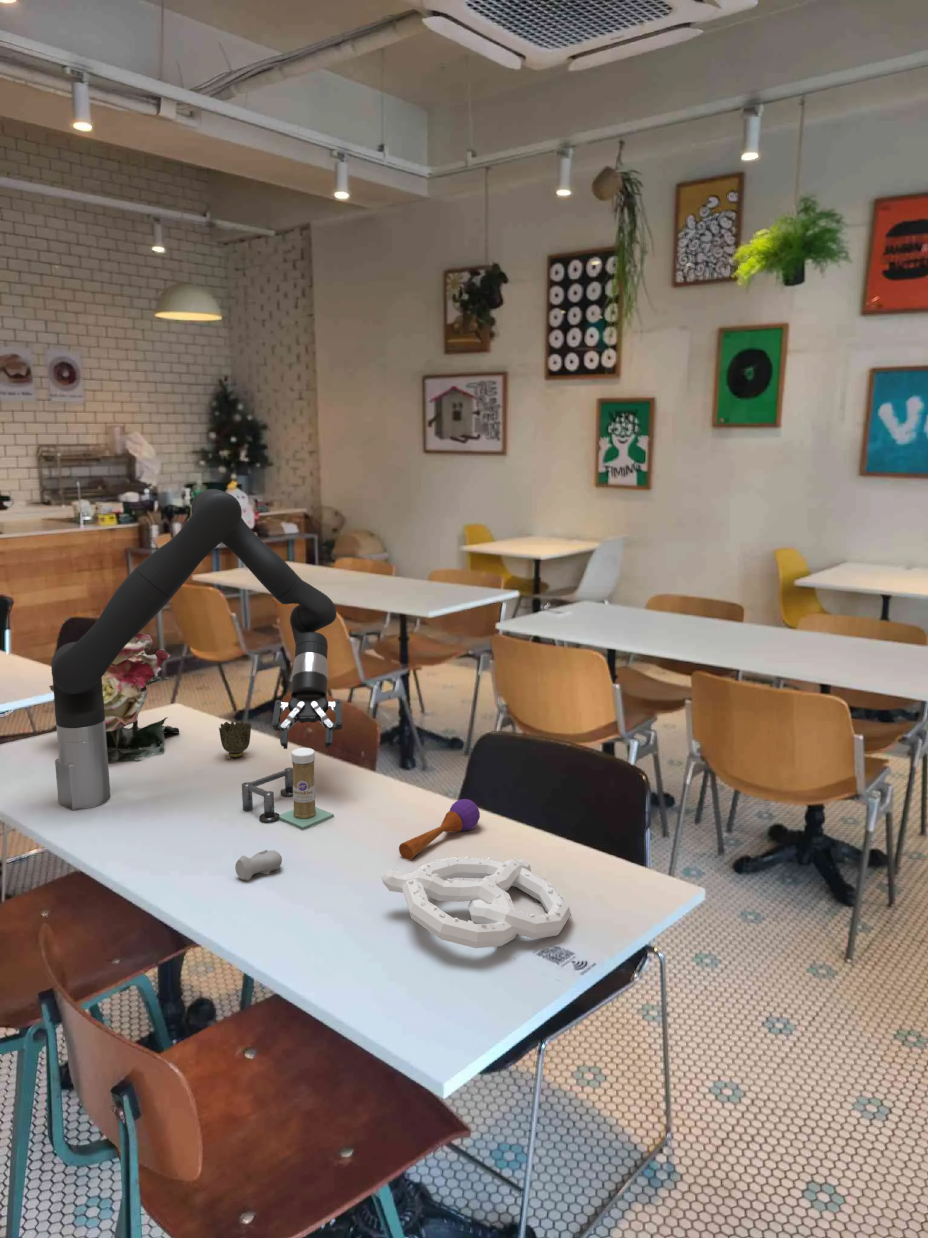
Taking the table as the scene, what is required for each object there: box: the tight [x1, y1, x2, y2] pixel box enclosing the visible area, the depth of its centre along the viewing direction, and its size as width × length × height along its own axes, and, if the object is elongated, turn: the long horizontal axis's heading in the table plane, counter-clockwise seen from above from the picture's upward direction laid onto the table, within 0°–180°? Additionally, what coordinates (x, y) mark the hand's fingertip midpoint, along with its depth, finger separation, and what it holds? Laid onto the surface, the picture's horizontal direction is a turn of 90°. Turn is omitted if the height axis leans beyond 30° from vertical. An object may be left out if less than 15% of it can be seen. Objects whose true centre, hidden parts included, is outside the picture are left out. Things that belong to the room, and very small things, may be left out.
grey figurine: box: [234, 849, 283, 881], centre depth 153 cm, size 4×8×5 cm
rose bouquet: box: [48, 632, 180, 765], centre depth 210 cm, size 26×29×30 cm
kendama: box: [398, 798, 481, 861], centre depth 166 cm, size 6×6×20 cm
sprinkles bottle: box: [290, 747, 316, 818], centre depth 174 cm, size 5×5×14 cm
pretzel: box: [380, 855, 572, 949], centre depth 140 cm, size 28×24×6 cm
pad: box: [278, 806, 335, 831], centre depth 176 cm, size 8×8×1 cm
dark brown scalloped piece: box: [218, 720, 252, 760], centre depth 208 cm, size 8×7×8 cm
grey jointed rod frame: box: [241, 767, 293, 824], centre depth 181 cm, size 15×11×6 cm
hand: (306, 747), depth 180 cm, fingers open, 8 cm apart
